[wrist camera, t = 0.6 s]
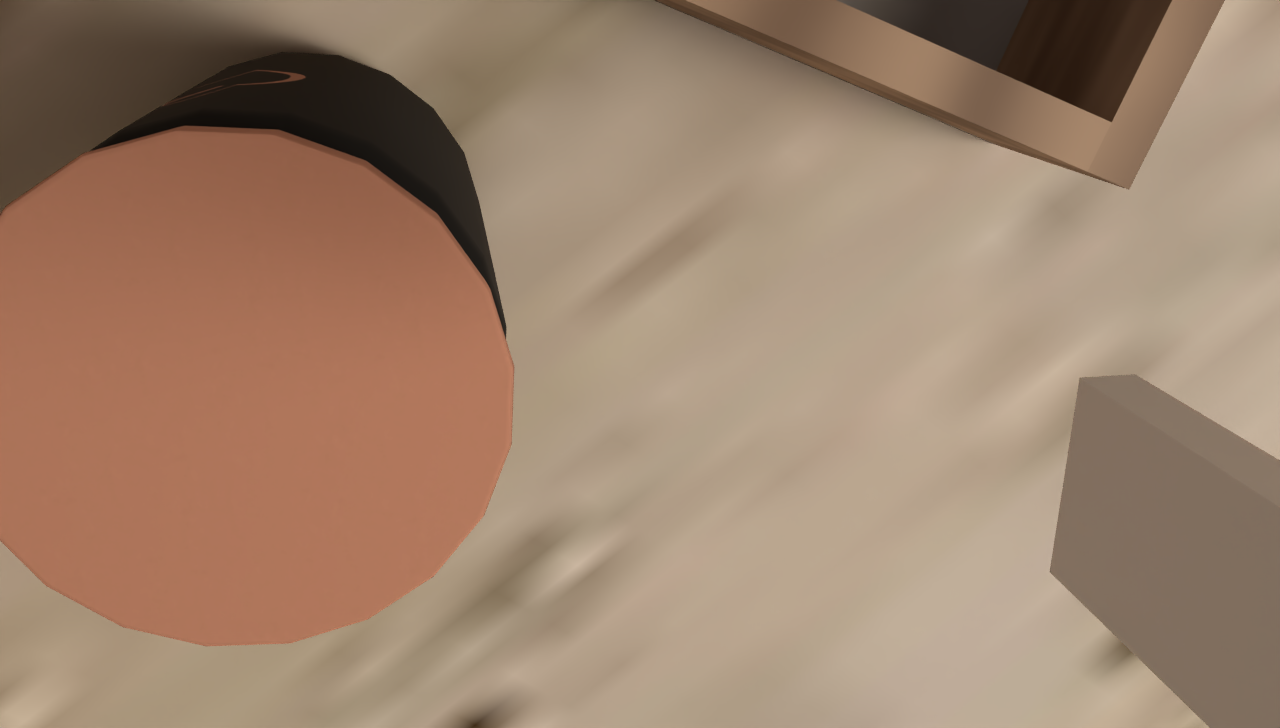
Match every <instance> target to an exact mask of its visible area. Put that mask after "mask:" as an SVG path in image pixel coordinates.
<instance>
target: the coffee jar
mask: <svg viewBox="0 0 1280 728" xmlns="http://www.w3.org/2000/svg"><path fill="white" fill-rule="evenodd" d="M513 388H514V364H513V361H512V358H511V355H510V351H509V348H508V345H507V342H506V323H505V318H504V314H503V309H502V305H501V300H500V296H499V291H498V287H497V282H496V277H495V273H494V268H493V264H492V259H491V255H490V250H489V245H488V241H487V236H486V232H485V227H484V223H483V218H482V214H481V209H480V204H479V200H478V197H477V194H476V190H475V187H474V184H473V181H472V177H471V174H470V171H469V167H468V164H467V161H466V158H465V154H464V152H463V150H462V149H461V147H460V146H459V145H458V143H457V142H456V140H455V139H454V137H453V136H452V134H451V133H450V132H449V130H448V129H447V127H446V126H445V124H444V123H443V121H442V120H441V119H440V117H439V116H438V114H437V113H436V111H435V110H434V109H433V108H432V107H431V106H430V105H428V104H427V103H426V102H424V101H423V100H422V99H421V98H419V97H418V96H417V95H415V94H414V93H413V92H412V91H410V90H409V89H408V88H406V87H405V86H404V85H403V84H401V83H400V82H399V81H397V80H396V79H395V78H394V77H392V76H391V75H389V74H386V73H384V72H381V71H378V70H376V69H373V68H370V67H368V66H365V65H363V64H360V63H357V62H355V61H352V60H349V59H347V58H344V57H341V56H339V55H324V54H306V53H287V52H281V53H277V54H274V55H270V56H266V57H263V58H259V59H255V60H252V61H248V62H244V63H240V64H237V65H233V66H229V67H227V68H226V69H224V70H222V71H221V72H219V73H217V74H215V75H214V76H212V77H210V78H209V79H207V80H205V81H204V82H202V83H200V84H198V85H197V86H195V87H193V88H192V89H190V90H188V91H186V92H185V93H183V94H181V95H180V96H178V97H176V98H175V99H173V100H171V101H169V102H168V103H166V104H164V105H163V106H161V107H159V108H157V109H156V110H154V111H152V112H151V113H149V114H147V115H146V116H144V117H142V118H140V119H139V120H137V121H135V122H134V123H132V124H130V125H128V126H127V127H125V128H123V129H122V130H120V131H118V132H117V133H115V134H114V135H113V136H111V137H110V138H108V139H107V140H105V141H104V142H102V143H101V144H99V145H98V146H96V147H95V148H93V149H92V150H91V151H89V152H86V153H83V154H81V155H80V156H78V157H77V158H75V159H74V160H73V161H71V162H70V163H68V164H67V165H65V166H64V167H62V168H61V169H59V170H58V171H56V172H55V173H53V174H52V175H50V176H49V177H48V178H46V179H45V180H43V181H42V182H40V183H39V184H37V185H36V186H34V187H33V188H31V189H30V190H28V191H27V192H26V193H24V194H23V195H21V196H20V197H18V198H17V199H15V200H14V201H12V202H11V203H9V204H8V205H6V207H5V208H4V209H3V211H2V212H1V214H0V541H1V542H2V543H3V544H4V545H5V546H6V547H7V548H8V549H9V550H10V551H11V552H12V553H13V554H14V555H15V556H16V557H17V558H19V559H20V560H21V561H22V562H23V563H24V564H25V565H26V566H27V567H28V568H29V569H30V570H31V571H32V572H33V573H34V574H35V575H36V576H37V577H38V578H39V579H40V580H41V581H42V582H43V583H44V584H45V585H46V586H47V587H49V588H51V589H53V590H55V591H57V592H59V593H60V594H62V595H64V596H66V597H68V598H70V599H72V600H73V601H75V602H77V603H79V604H81V605H83V606H85V607H86V608H88V609H90V610H92V611H94V612H96V613H98V614H99V615H101V616H103V617H105V618H107V619H109V620H111V621H113V622H114V623H116V624H118V625H120V626H122V627H125V628H130V629H134V630H138V631H143V632H147V633H151V634H156V635H160V636H164V637H169V638H173V639H177V640H182V641H186V642H190V643H195V644H199V645H203V646H226V645H255V644H283V643H293V642H296V641H299V640H302V639H306V638H309V637H312V636H315V635H319V634H322V633H325V632H328V631H331V630H335V629H338V628H341V627H344V626H348V625H351V624H354V623H357V622H361V621H364V620H367V619H369V618H371V617H372V616H374V615H375V614H377V613H378V612H380V611H381V610H383V609H384V608H386V607H387V606H389V605H390V604H392V603H393V602H395V601H397V600H398V599H400V598H401V597H403V596H404V595H406V594H407V593H409V592H410V591H412V590H413V589H415V588H416V587H418V586H419V585H421V584H423V583H424V582H426V581H427V580H429V579H430V578H432V577H433V576H434V575H435V574H436V573H437V572H438V570H439V569H440V568H441V567H442V566H443V564H444V563H445V562H446V561H447V560H448V558H449V557H450V556H451V555H452V553H453V552H454V551H455V550H456V549H457V547H458V546H459V545H460V544H461V543H462V541H463V540H464V539H465V538H466V537H467V535H468V534H469V533H470V532H471V530H472V529H473V528H474V527H475V526H476V524H477V523H478V522H479V521H480V520H481V518H482V517H483V516H484V514H485V512H486V509H487V506H488V504H489V501H490V499H491V496H492V493H493V491H494V488H495V486H496V483H497V481H498V478H499V475H500V473H501V470H502V468H503V465H504V462H505V460H506V457H507V455H508V452H509V450H510V447H511V444H512V417H513Z"/></svg>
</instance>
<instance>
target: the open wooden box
mask: <svg viewBox="0 0 1280 728" xmlns="http://www.w3.org/2000/svg"><path fill="white" fill-rule="evenodd" d="M655 1H657V2H659V3H662V4H664V5H667V6H669V7H671V8H674V9H676V10H678V11H681V12H683V13H685V14H688V15H690V16H693V17H695V18H697V19H700V20H702V21H704V22H707V23H709V24H711V25H714V26H716V27H719V28H721V29H723V30H726V31H728V32H730V33H733V34H735V35H737V36H740V37H742V38H745V39H747V40H749V41H752V42H754V43H756V44H759V45H761V46H763V47H766V48H768V49H771V50H773V51H775V52H778V53H780V54H782V55H785V56H787V57H789V58H792V59H794V60H796V61H799V62H801V63H804V64H806V65H808V66H811V67H813V68H815V69H818V70H820V71H822V72H825V73H827V74H830V75H832V76H834V77H837V78H839V79H841V80H844V81H846V82H848V83H851V84H853V85H856V86H858V87H860V88H863V89H865V90H867V91H870V92H872V93H874V94H877V95H879V96H882V97H884V98H886V99H889V100H891V101H893V102H896V103H898V104H900V105H903V106H905V107H908V108H910V109H912V110H915V111H917V112H919V113H922V114H924V115H926V116H929V117H931V118H934V119H936V120H938V121H941V122H943V123H945V124H948V125H950V126H952V127H955V128H957V129H959V130H962V131H964V132H967V133H969V134H971V135H974V136H976V137H978V138H981V139H983V140H985V141H988V142H990V143H993V144H995V145H998V146H1001V147H1004V148H1007V149H1010V150H1013V151H1016V152H1019V153H1022V154H1025V155H1028V156H1031V157H1034V158H1037V159H1040V160H1043V161H1046V162H1049V163H1052V164H1055V165H1058V166H1061V167H1064V168H1067V169H1070V170H1073V171H1076V172H1079V173H1082V174H1085V175H1087V176H1090V177H1093V178H1096V179H1099V180H1102V181H1105V182H1108V183H1111V184H1114V185H1117V186H1120V187H1123V188H1126V189H1130V187H1131V185H1132V183H1133V181H1134V179H1135V177H1136V175H1137V173H1138V171H1139V169H1140V167H1141V165H1142V163H1143V161H1144V159H1145V157H1146V155H1147V153H1148V151H1149V149H1150V147H1151V145H1152V143H1153V141H1154V139H1155V137H1156V135H1157V133H1158V131H1159V129H1160V127H1161V125H1162V123H1163V121H1164V119H1165V117H1166V115H1167V113H1168V111H1169V109H1170V107H1171V105H1172V103H1173V102H1174V100H1175V98H1176V96H1177V94H1178V92H1179V90H1180V88H1181V86H1182V84H1183V82H1184V80H1185V78H1186V76H1187V74H1188V72H1189V70H1190V68H1191V66H1192V64H1193V62H1194V60H1195V58H1196V56H1197V54H1198V52H1199V50H1200V48H1201V46H1202V44H1203V42H1204V40H1205V38H1206V36H1207V34H1208V32H1209V30H1210V28H1211V26H1212V24H1213V22H1214V20H1215V18H1216V16H1217V14H1218V12H1219V11H1220V9H1221V7H1222V5H1223V3H1224V1H1225V0H655Z"/></svg>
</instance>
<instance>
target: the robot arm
mask: <svg viewBox="0 0 1280 728" xmlns="http://www.w3.org/2000/svg"><path fill="white" fill-rule="evenodd" d="M1050 573H1051V574H1052V575H1053V576H1054V577H1055V578H1056V579H1058V580H1059V581H1060V582H1061V583H1062V584H1063V585H1064V586H1065V587H1066V588H1067V589H1068V590H1069V591H1070V592H1071V593H1072V594H1073V595H1074V596H1075V597H1076V598H1077V599H1078V600H1079V601H1080V602H1081V603H1082V604H1083V605H1084V606H1085V607H1086V608H1087V609H1088V610H1089V611H1090V612H1091V613H1092V614H1094V615H1095V616H1096V617H1097V618H1098V619H1099V620H1100V621H1101V622H1102V623H1103V624H1104V625H1105V626H1106V627H1107V628H1108V629H1109V630H1110V631H1111V632H1112V633H1113V634H1114V635H1115V636H1116V637H1117V638H1118V639H1119V640H1120V641H1121V642H1122V643H1123V644H1124V645H1125V646H1126V647H1127V648H1129V649H1130V650H1131V651H1132V652H1133V653H1134V654H1135V655H1136V656H1137V657H1138V658H1139V659H1140V660H1141V661H1142V662H1143V663H1144V664H1145V665H1146V666H1147V667H1148V668H1149V669H1150V670H1151V671H1152V672H1153V673H1154V674H1155V675H1156V676H1157V677H1158V678H1159V679H1160V680H1161V681H1162V682H1163V683H1165V684H1166V685H1167V686H1168V687H1169V688H1170V689H1171V690H1172V691H1173V692H1174V693H1175V694H1176V695H1177V696H1178V697H1179V698H1180V699H1181V700H1182V701H1183V702H1184V703H1185V704H1186V705H1187V706H1188V707H1189V708H1190V709H1191V710H1192V711H1193V712H1194V713H1195V714H1196V715H1197V716H1198V717H1200V718H1201V719H1202V720H1203V721H1204V722H1205V723H1206V724H1207V725H1208V726H1209V727H1210V728H1280V460H1278V459H1276V458H1275V457H1273V456H1271V455H1270V454H1268V453H1266V452H1265V451H1263V450H1261V449H1259V448H1258V447H1256V446H1254V445H1253V444H1251V443H1249V442H1248V441H1246V440H1244V439H1243V438H1241V437H1239V436H1238V435H1236V434H1234V433H1233V432H1231V431H1229V430H1228V429H1226V428H1224V427H1222V426H1221V425H1219V424H1217V423H1216V422H1214V421H1212V420H1211V419H1209V418H1207V417H1206V416H1204V415H1202V414H1201V413H1199V412H1197V411H1196V410H1194V409H1192V408H1191V407H1189V406H1187V405H1186V404H1184V403H1182V402H1180V401H1179V400H1177V399H1175V398H1174V397H1172V396H1170V395H1169V394H1167V393H1165V392H1164V391H1162V390H1160V389H1159V388H1157V387H1155V386H1154V385H1152V384H1150V383H1149V382H1147V381H1145V380H1143V379H1142V378H1140V377H1138V376H1137V375H1118V376H1101V377H1084V378H1080V379H1079V386H1078V392H1077V399H1076V405H1075V412H1074V418H1073V425H1072V431H1071V438H1070V444H1069V451H1068V457H1067V463H1066V470H1065V476H1064V483H1063V489H1062V496H1061V502H1060V509H1059V515H1058V522H1057V528H1056V535H1055V541H1054V548H1053V554H1052V560H1051V567H1050Z"/></svg>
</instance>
